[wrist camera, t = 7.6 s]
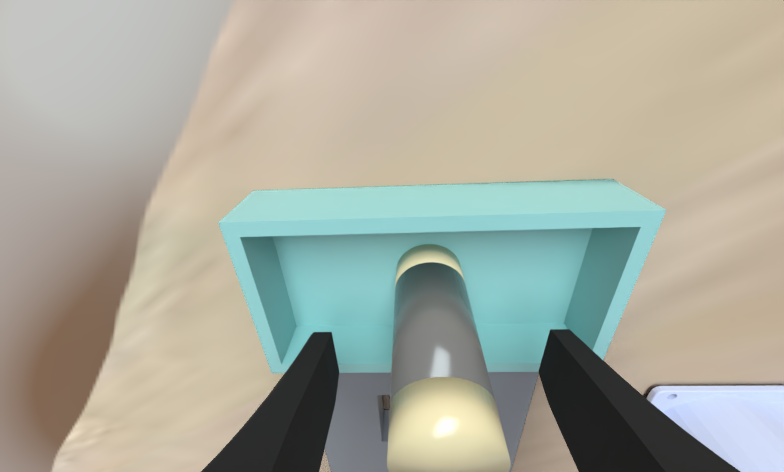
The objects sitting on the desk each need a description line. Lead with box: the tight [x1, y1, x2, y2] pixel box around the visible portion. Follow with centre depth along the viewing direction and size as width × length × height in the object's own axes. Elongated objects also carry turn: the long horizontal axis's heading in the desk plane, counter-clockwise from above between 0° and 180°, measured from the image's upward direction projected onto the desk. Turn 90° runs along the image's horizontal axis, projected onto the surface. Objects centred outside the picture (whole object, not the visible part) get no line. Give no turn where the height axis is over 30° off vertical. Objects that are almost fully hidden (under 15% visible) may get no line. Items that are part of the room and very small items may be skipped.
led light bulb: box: [387, 244, 511, 472], centre depth 11 cm, size 3×3×8 cm
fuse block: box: [325, 372, 539, 472], centre depth 21 cm, size 12×18×2 cm, turn 3°
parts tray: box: [218, 179, 666, 373], centre depth 14 cm, size 15×8×3 cm, turn 92°
